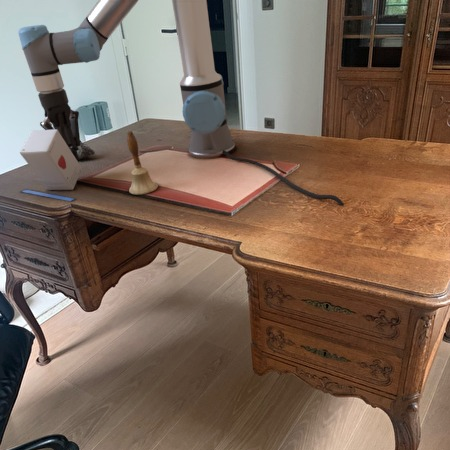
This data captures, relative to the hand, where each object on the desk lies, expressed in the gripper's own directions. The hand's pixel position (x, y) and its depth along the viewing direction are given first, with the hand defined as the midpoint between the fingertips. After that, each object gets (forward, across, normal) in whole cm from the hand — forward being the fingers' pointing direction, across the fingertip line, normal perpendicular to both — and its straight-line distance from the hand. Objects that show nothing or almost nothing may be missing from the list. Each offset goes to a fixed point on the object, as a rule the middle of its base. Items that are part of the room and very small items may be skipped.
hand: (76, 172), depth 137 cm
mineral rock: (+3, -13, -16) cm, 21 cm away
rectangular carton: (+1, +5, 0) cm, 5 cm away
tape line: (+2, +13, +1) cm, 13 cm away
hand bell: (+2, 0, +27) cm, 27 cm away
